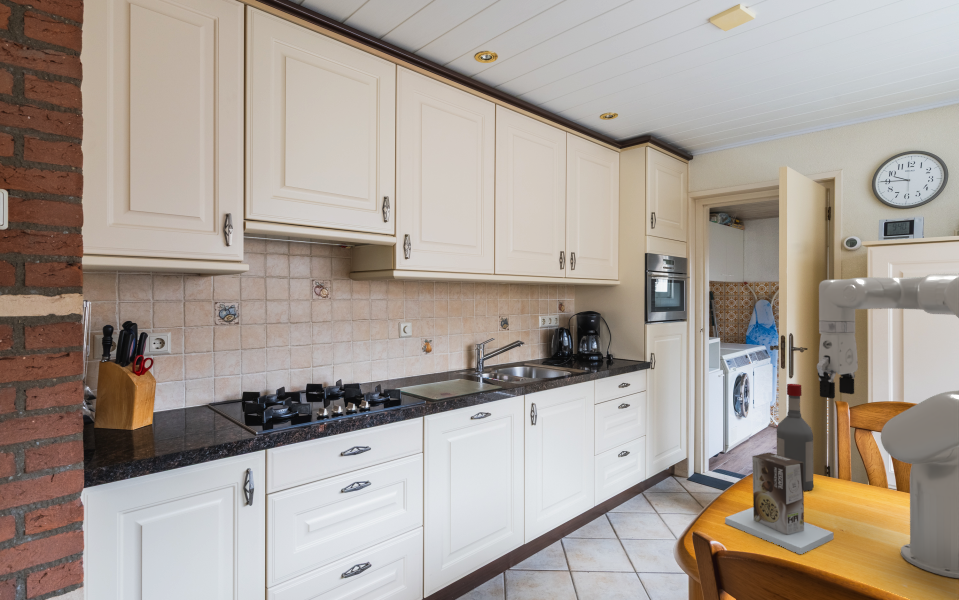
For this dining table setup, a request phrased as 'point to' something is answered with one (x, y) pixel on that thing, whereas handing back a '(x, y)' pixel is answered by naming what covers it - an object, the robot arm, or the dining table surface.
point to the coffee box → (778, 492)
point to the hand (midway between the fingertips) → (837, 395)
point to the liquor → (796, 436)
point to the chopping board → (792, 542)
